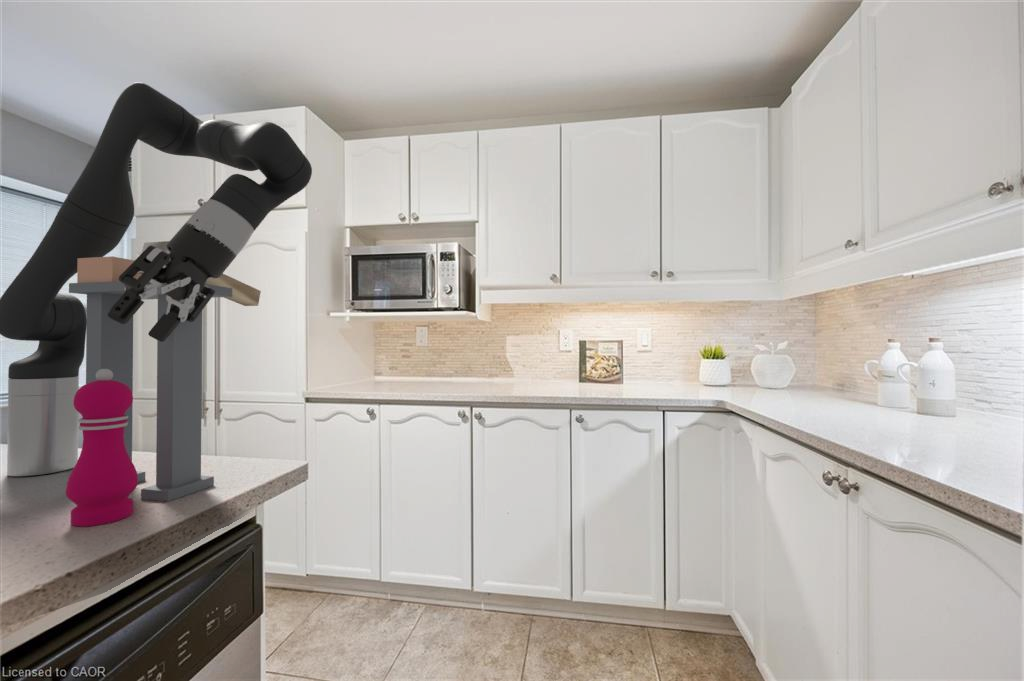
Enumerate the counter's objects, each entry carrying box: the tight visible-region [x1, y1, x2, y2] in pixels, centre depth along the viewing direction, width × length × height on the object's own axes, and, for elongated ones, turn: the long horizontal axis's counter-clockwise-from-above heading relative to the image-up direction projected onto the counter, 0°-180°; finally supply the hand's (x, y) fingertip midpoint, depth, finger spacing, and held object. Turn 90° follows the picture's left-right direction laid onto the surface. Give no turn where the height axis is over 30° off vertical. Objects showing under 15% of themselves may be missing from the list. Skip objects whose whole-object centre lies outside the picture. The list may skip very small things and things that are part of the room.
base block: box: [76, 255, 142, 283], centre depth 77 cm, size 7×10×4 cm
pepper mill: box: [65, 369, 139, 528], centre depth 62 cm, size 7×7×20 cm
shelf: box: [68, 281, 232, 502], centre depth 76 cm, size 20×11×33 cm, turn 78°
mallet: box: [138, 240, 262, 307], centre depth 80 cm, size 6×20×5 cm, turn 168°
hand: (136, 330), depth 63 cm, fingers open, 8 cm apart
